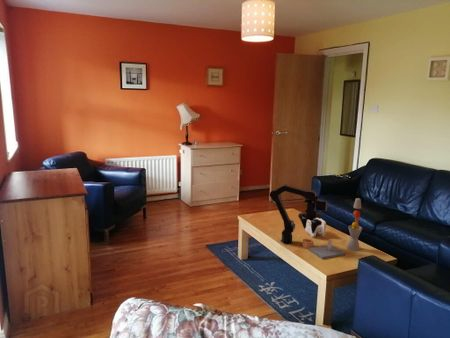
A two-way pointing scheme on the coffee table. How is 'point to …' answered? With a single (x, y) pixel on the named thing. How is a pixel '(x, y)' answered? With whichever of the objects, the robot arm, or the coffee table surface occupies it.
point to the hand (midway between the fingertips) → (308, 230)
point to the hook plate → (327, 251)
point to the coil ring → (307, 243)
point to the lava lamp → (355, 228)
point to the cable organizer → (320, 229)
